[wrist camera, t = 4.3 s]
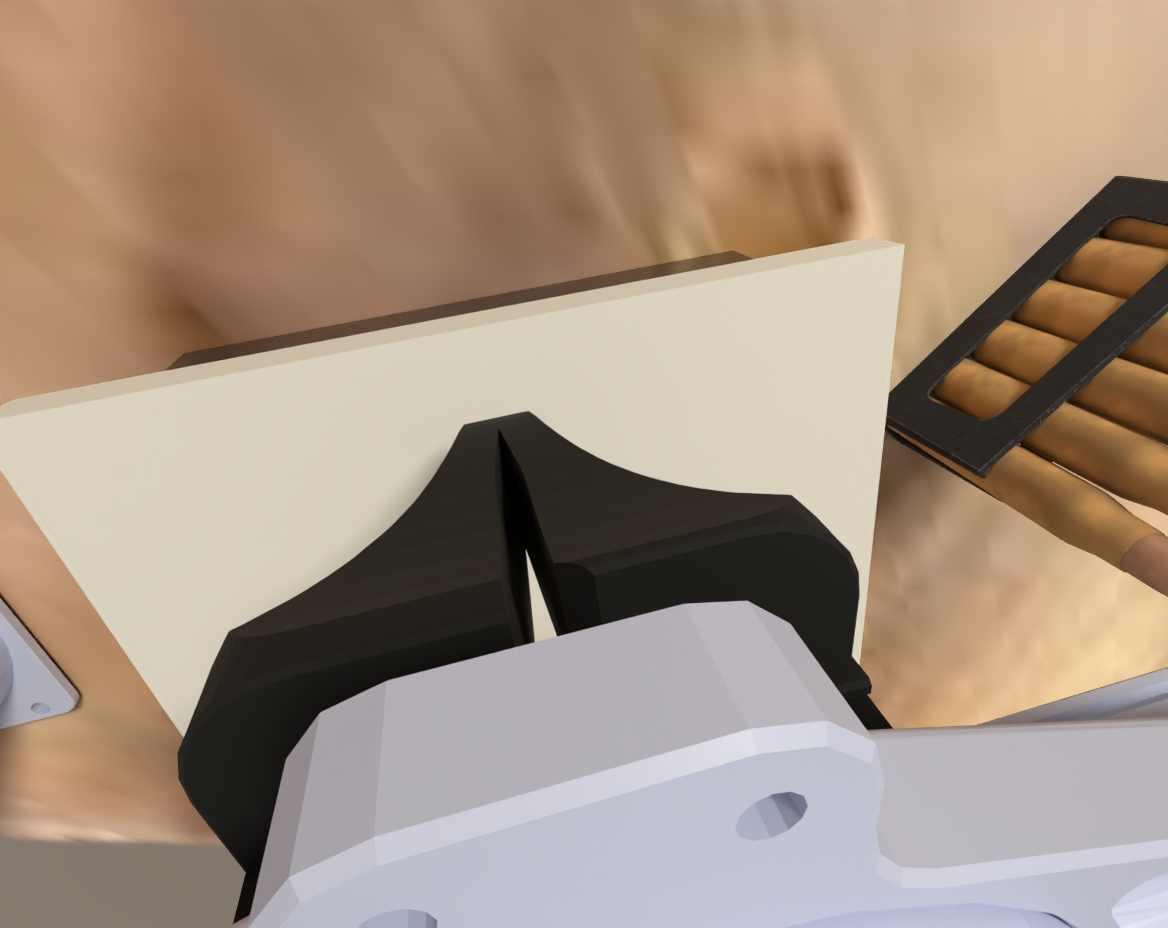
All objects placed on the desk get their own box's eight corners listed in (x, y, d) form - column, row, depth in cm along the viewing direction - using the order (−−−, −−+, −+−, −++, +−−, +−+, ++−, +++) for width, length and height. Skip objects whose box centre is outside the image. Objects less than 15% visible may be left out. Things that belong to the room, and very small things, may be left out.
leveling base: (349, 693, 24) (330, 815, 20) (183, 353, 17) (99, 429, 13) (735, 594, 26) (794, 685, 21) (733, 250, 19) (820, 286, 14)
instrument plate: (305, 865, 19) (264, 1083, 15) (11, 399, 12) (-259, 555, 7) (830, 714, 21) (935, 865, 17) (869, 237, 14) (1078, 279, 9)
